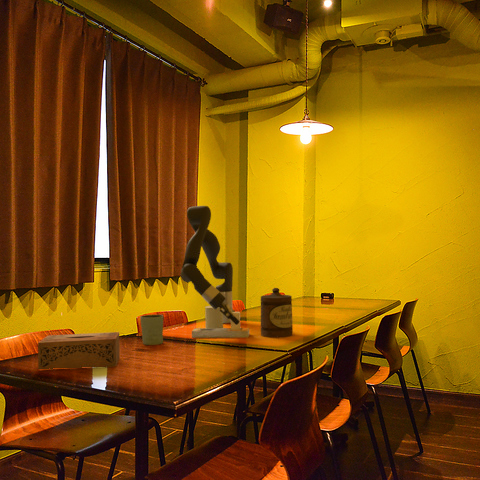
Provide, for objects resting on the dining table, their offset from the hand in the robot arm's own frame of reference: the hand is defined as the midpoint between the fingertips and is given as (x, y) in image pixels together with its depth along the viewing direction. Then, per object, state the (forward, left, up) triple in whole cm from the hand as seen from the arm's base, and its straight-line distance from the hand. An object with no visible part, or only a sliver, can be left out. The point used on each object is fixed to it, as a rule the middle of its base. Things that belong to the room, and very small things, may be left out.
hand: (239, 322), depth 223 cm
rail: (0, -9, -6) cm, 11 cm away
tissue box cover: (+56, -52, -7) cm, 77 cm away
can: (-19, -15, -7) cm, 25 cm away
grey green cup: (+17, -37, -7) cm, 41 cm away
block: (0, -2, -6) cm, 7 cm away
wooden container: (-3, +17, -7) cm, 19 cm away
